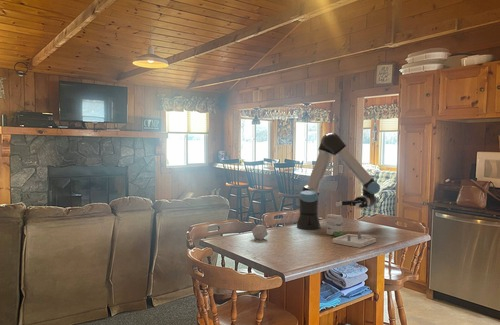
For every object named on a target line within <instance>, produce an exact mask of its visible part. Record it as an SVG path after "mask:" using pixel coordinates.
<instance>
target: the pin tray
mask: <svg viewBox="0 0 500 325" xmlns="http://www.w3.org/2000/svg"><path fill="white" fill-rule="evenodd" d="M361 232H362V231H358V232H357V234H354V233H353V234H351V233H347V234H343V235H342V236H336V237H334V238H332V243H333V244H338V245H342V246H343V245H344V246H348V247H354V248H364V247H366V246H369V245H372V244H374V243H376V241H377V239H376V237H371V236H366V235H362V233H361Z"/></svg>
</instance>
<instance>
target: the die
mask: <svg viewBox="0 0 500 325" xmlns="http://www.w3.org/2000/svg"><path fill="white" fill-rule="evenodd" d="M251 232H252V235H253V238H254V240H259V241H263V240H264V239H265V238H266V237H267V236H268V235H269V233H268V230H267V228H266V225H262V224H257V225H255V227H253V228H252V229H251Z"/></svg>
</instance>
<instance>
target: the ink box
mask: <svg viewBox="0 0 500 325" xmlns="http://www.w3.org/2000/svg"><path fill="white" fill-rule="evenodd" d="M343 224H344V222H343V215H339V214H333V213H330V214H326V235H331V236H334V237H335V236H336V237H340V236H343V235H344V234H343V230H344V229H343Z"/></svg>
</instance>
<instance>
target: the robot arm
mask: <svg viewBox="0 0 500 325" xmlns="http://www.w3.org/2000/svg"><path fill="white" fill-rule="evenodd" d="M317 150H318V152H319V153H318V155H317V158H316V161H315V163H314V166H313V168H312V170H311V173H310V175H309V178H308V181H307V183H306V185H304V186H303V188H302V189H301V191H300V192H299V196H298V203H299V216H298V218H297V222H296V228H298V229H302V230H318V229H320V228H321V222H320V219H319V217H318V215H319V214H318V213H319V212H318V211H319V210H318V209H319V203H318V202H319V201H318V200H319V195H320V193H321V192H320V190H319V189H320V187H321V184H322V182H323V179H324V176H325V174H326V172H327V170H328V166H329V164H330V161H331V159H332V157H334V156H337V157H338V158H339V160H340V161H341V162H342V163H343V164H344V165H345V166H346V168H347V169H348V170H349V171H350V173H351V174H352V175H354V177H355V178H356V179H357V180H358V182H359V183H361V185H362V195H361V196H357V197H355V199H353V200H351V199H348V200H337V201H336V202H335V208H336V207H337V208H338V207H342V206H349V207H350V206H351V207H353V206H354V207H355V209H357V210H358V209H365V208H366V209H367V208H368V207H373V206H375V205H376V204H377V202H378V200H377V199H378V198H377V197H376V196H375V194H378V193H379V192H380V190H381V186H380V184H379V183H378V182H377V181H375V178H374V177H372V175H370V174H369V172H368V171H367V170H366V169H365V168H364V167H363V166H362V165H361V163H360V162H359V161H358V159H356V158H355V156H354V155H353V154H352V153H351V151H349V149H348V148H347V145H346V144H345V142H344V141H343V140H342V139H341V136H340V135H338V134H337V133H336V132H329V133H326V134H324V135H323V136H322V137H321V139H320V144H319V146H318V149H317Z"/></svg>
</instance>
